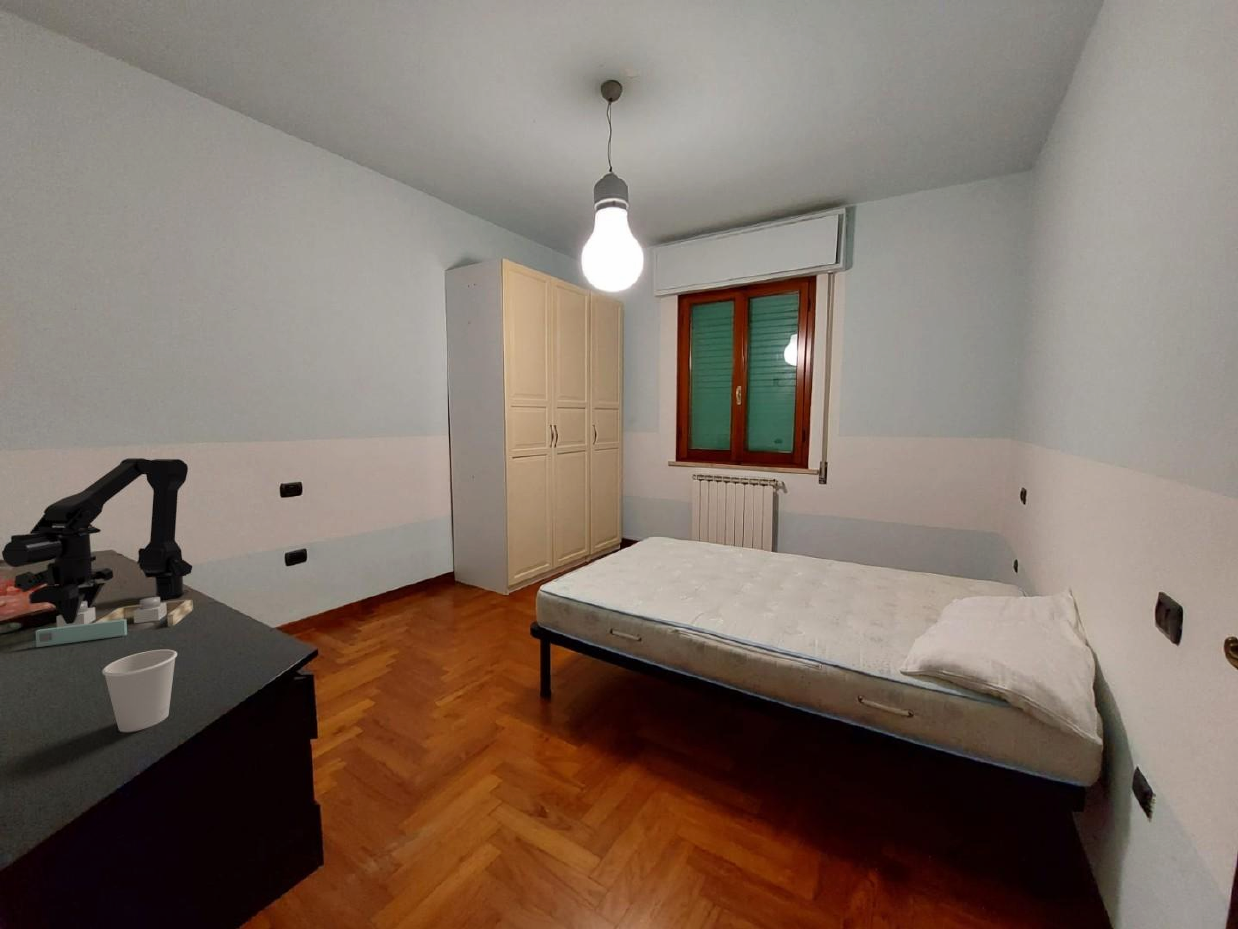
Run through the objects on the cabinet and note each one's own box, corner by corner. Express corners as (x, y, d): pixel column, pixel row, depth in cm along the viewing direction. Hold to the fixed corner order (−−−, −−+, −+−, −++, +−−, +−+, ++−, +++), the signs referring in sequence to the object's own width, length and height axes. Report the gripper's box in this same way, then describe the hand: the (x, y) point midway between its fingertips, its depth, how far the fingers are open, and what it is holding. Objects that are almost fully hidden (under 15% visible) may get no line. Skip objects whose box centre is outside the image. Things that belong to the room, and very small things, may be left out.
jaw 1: (69, 622, 111) (68, 602, 111) (95, 619, 113) (94, 599, 113) (57, 629, 107) (55, 608, 107) (84, 626, 109) (83, 605, 109)
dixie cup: (193, 705, 79) (191, 648, 78) (145, 737, 70) (141, 673, 70) (143, 706, 78) (140, 649, 78) (88, 738, 70) (84, 674, 70)
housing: (120, 618, 116) (120, 607, 116) (193, 610, 122) (192, 599, 122) (92, 637, 105) (91, 624, 105) (173, 626, 111) (172, 614, 111)
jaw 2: (143, 617, 117) (142, 597, 117) (166, 614, 119) (165, 595, 119) (134, 623, 113) (133, 603, 113) (158, 620, 115) (157, 600, 115)
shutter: (39, 645, 100) (38, 629, 100) (127, 633, 107) (126, 619, 106) (35, 647, 99) (34, 632, 99) (124, 636, 105) (123, 621, 105)
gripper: (50, 550, 114) (54, 611, 115) (-10, 569, 97) (-5, 641, 98) (112, 545, 119) (115, 605, 120) (65, 563, 102) (70, 632, 103)
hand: (76, 619), depth 110 cm, fingers closed on jaw 1, 4 cm apart
